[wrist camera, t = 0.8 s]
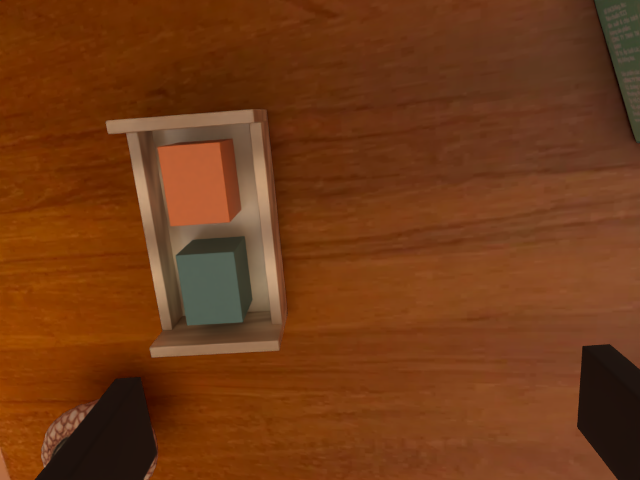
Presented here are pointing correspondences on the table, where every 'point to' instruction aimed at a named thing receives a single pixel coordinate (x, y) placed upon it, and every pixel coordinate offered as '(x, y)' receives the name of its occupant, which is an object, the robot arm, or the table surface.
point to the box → (624, 51)
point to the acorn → (66, 427)
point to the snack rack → (210, 230)
